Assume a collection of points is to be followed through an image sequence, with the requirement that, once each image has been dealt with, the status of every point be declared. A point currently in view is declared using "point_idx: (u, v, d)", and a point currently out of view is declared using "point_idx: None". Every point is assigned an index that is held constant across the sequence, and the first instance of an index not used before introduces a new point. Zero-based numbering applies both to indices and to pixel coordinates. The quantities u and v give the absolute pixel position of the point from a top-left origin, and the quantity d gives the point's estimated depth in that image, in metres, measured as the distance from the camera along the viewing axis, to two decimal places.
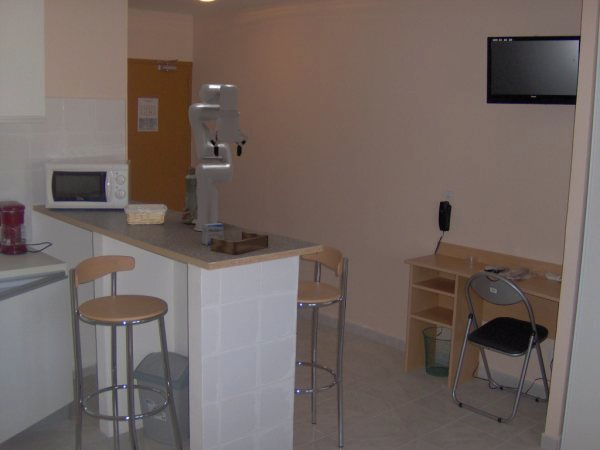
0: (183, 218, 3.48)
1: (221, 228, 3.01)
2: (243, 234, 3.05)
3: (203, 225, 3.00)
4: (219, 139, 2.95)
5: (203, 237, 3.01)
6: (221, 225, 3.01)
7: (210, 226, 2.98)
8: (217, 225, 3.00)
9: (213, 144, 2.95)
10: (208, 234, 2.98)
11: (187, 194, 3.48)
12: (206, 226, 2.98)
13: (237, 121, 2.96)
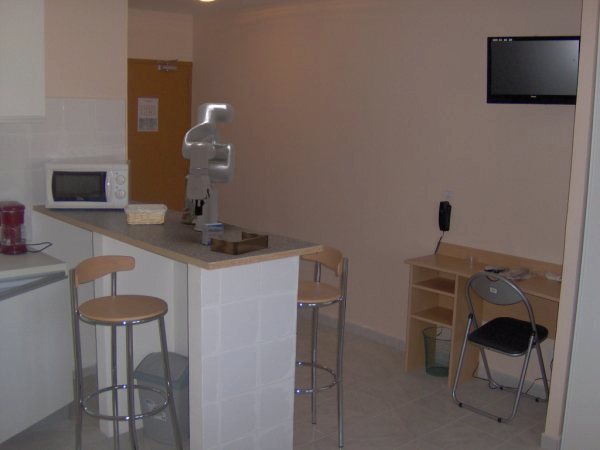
0: (183, 218, 3.48)
1: (221, 228, 3.01)
2: (243, 234, 3.05)
3: (203, 225, 3.00)
4: None
5: (203, 237, 3.01)
6: (221, 225, 3.01)
7: (210, 226, 2.98)
8: (217, 225, 3.00)
9: (203, 204, 3.03)
10: (208, 234, 2.98)
11: None
12: (206, 226, 2.98)
13: None
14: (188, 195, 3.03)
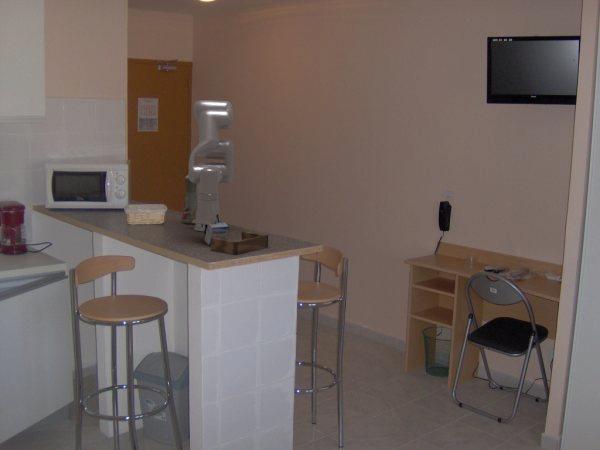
0: (183, 218, 3.48)
1: (226, 230, 2.99)
2: (243, 234, 3.05)
3: (208, 225, 2.97)
4: None
5: (206, 235, 2.99)
6: (226, 227, 2.98)
7: (215, 228, 2.95)
8: (222, 227, 2.97)
9: None
10: (211, 235, 2.96)
11: (187, 194, 3.48)
12: (210, 227, 2.95)
13: None
14: (198, 220, 3.02)
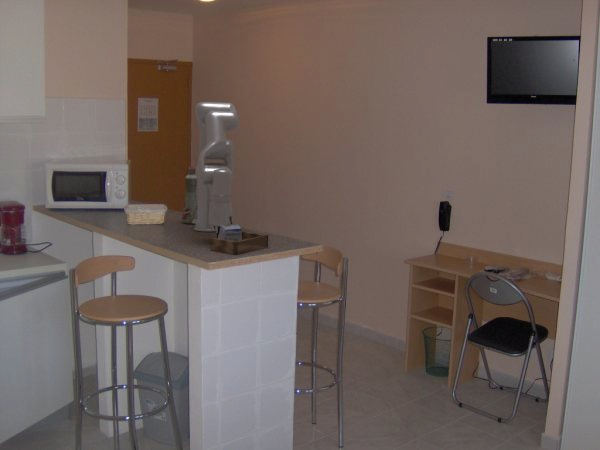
0: (183, 218, 3.48)
1: (238, 232, 2.95)
2: (243, 234, 3.05)
3: (221, 227, 2.93)
4: None
5: (218, 237, 2.95)
6: (239, 229, 2.95)
7: (228, 230, 2.91)
8: (235, 229, 2.93)
9: None
10: (224, 238, 2.92)
11: (187, 194, 3.48)
12: (223, 229, 2.91)
13: None
14: (210, 222, 2.98)
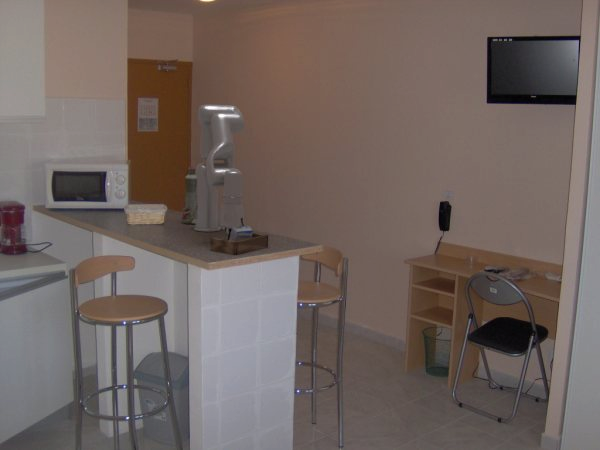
0: (183, 218, 3.48)
1: (250, 234, 2.92)
2: None
3: (232, 229, 2.90)
4: None
5: (230, 239, 2.92)
6: (251, 231, 2.91)
7: (239, 232, 2.88)
8: (247, 231, 2.90)
9: None
10: (236, 240, 2.89)
11: (187, 194, 3.48)
12: (235, 231, 2.88)
13: None
14: (221, 224, 2.95)
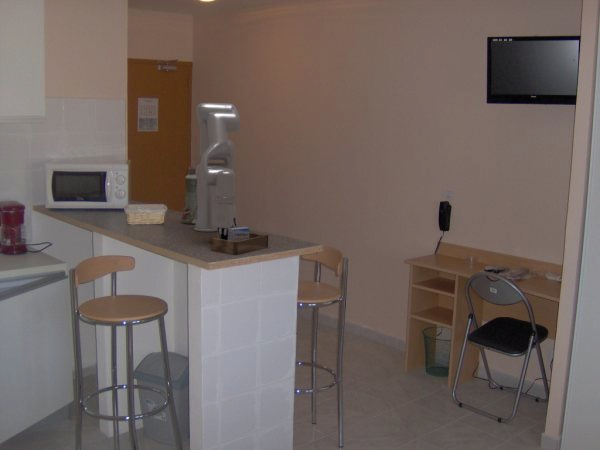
0: (183, 218, 3.48)
1: (247, 232, 2.94)
2: None
3: (228, 229, 2.92)
4: None
5: None
6: (247, 229, 2.94)
7: (236, 230, 2.90)
8: (243, 229, 2.92)
9: None
10: (234, 238, 2.90)
11: (187, 194, 3.48)
12: (231, 230, 2.91)
13: None
14: (214, 223, 2.97)
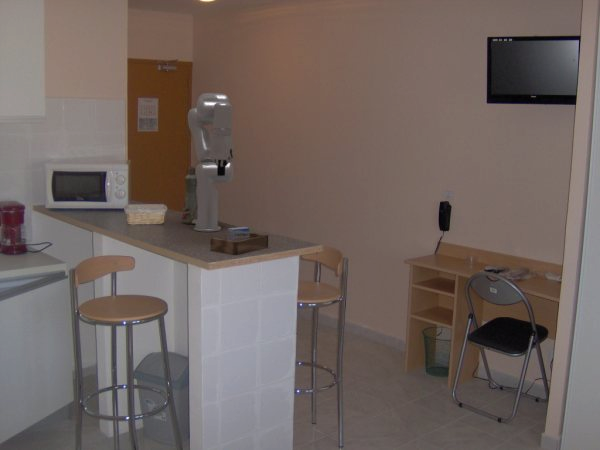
0: (183, 218, 3.48)
1: (247, 232, 2.94)
2: None
3: (229, 229, 2.92)
4: None
5: None
6: (247, 229, 2.94)
7: (236, 230, 2.90)
8: (243, 229, 2.92)
9: (226, 164, 3.04)
10: (234, 238, 2.90)
11: (187, 194, 3.48)
12: (231, 230, 2.90)
13: None
14: (211, 155, 3.03)
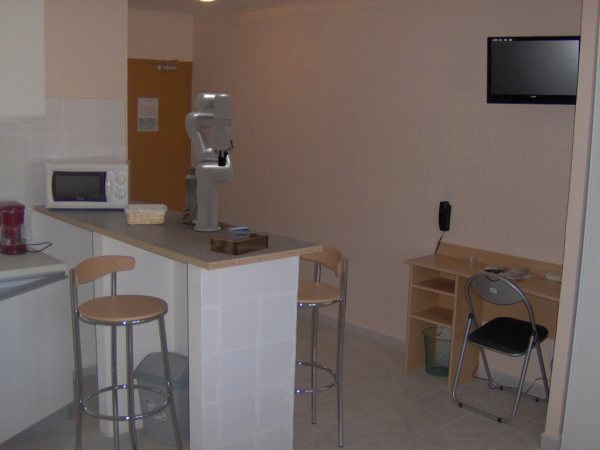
0: (183, 218, 3.48)
1: (247, 232, 2.94)
2: None
3: (229, 229, 2.92)
4: None
5: None
6: (247, 229, 2.94)
7: (236, 230, 2.90)
8: (243, 229, 2.92)
9: (227, 155, 3.06)
10: (234, 238, 2.90)
11: (187, 194, 3.48)
12: (231, 230, 2.90)
13: None
14: (211, 146, 3.06)
